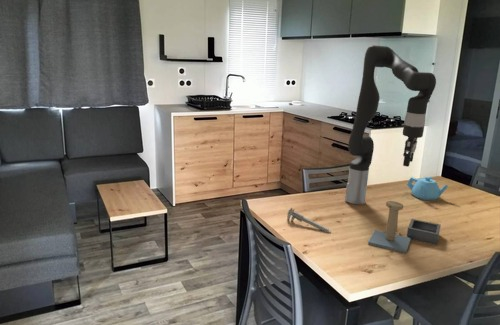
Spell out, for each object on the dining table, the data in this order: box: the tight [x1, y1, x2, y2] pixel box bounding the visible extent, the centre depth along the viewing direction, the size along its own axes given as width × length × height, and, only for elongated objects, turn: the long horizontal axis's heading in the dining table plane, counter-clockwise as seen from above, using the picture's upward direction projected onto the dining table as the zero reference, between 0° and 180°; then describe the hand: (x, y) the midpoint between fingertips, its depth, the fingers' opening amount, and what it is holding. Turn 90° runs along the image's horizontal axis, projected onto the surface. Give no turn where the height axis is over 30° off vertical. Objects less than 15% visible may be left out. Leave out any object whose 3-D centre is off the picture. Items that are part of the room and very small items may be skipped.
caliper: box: [286, 207, 332, 234], centre depth 171 cm, size 20×1×6 cm, turn 54°
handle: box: [385, 200, 404, 241], centre depth 158 cm, size 5×6×15 cm
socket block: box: [406, 218, 442, 246], centre depth 166 cm, size 11×11×4 cm
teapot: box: [406, 176, 449, 201], centre depth 214 cm, size 15×15×11 cm
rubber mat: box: [367, 229, 412, 254], centre depth 160 cm, size 14×13×1 cm
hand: (407, 163), depth 164 cm, fingers open, 8 cm apart
